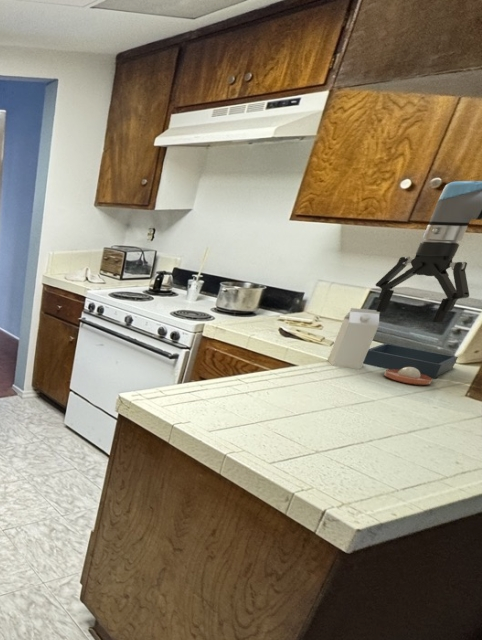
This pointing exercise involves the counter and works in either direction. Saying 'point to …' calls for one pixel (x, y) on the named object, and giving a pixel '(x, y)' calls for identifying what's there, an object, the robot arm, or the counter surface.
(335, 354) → the milk carton
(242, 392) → the counter surface
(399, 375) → the rice plate
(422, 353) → the dish tub
